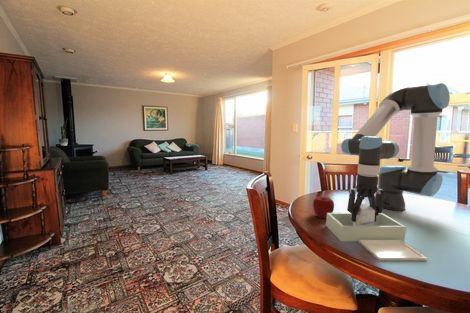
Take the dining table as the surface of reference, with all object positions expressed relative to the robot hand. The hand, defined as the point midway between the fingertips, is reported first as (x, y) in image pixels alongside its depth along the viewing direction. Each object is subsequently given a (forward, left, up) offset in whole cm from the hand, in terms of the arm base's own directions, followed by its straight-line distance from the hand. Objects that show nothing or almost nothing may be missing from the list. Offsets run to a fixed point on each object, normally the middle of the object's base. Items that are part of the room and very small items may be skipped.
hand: (362, 228), depth 95 cm
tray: (-2, +14, -2) cm, 14 cm away
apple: (+10, -17, -2) cm, 20 cm away
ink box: (0, 0, -2) cm, 2 cm away
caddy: (0, 0, -2) cm, 2 cm away
